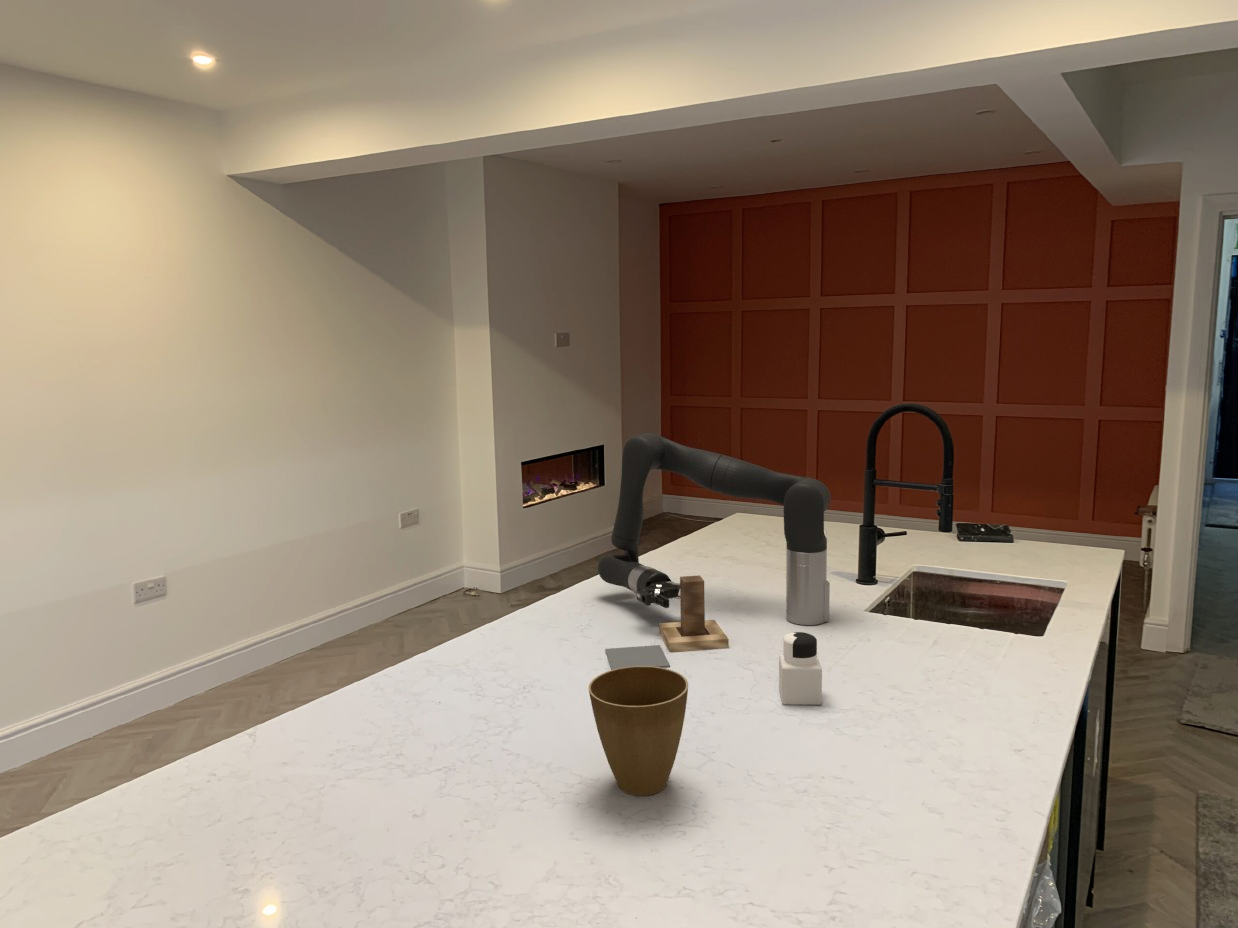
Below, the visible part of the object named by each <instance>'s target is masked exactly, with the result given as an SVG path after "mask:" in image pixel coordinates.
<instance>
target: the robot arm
mask: <svg viewBox="0 0 1238 928" xmlns="http://www.w3.org/2000/svg"><path fill="white" fill-rule="evenodd" d="M621 457H622V458H621V475H620V476H621V477H620V491H619V498H618V504H617V510H616V514H615V515H616V516H615V521H614V523H613V528H612V533H611V544H612V545H613V547H615V548H617V549H620V550H622V551H623V550H624V552H623V553H624V554H607V555H604V556H602V557H601V558H600V559H599V561H598V565H597V573H598V575H599V577H600V578H601V579H602V580H603V581H604V582H605V583H608V584H610V585H614V586H618V587H623V588H626V589H628V590H630V591H631V592H633V593H634V594H635V595H636V600H637V601H638V602H640V603H642V604H643V605H645V606H647V607H650V606H651V605H652V604H653V605H654V606H659V607H662V608H664V609H669V608H670V600H675V599H676V600H680V594H679V593H680V582H677V583H676V582H674V581H672V580H671V578H670V577H669V575H668V574H666V573H664V572H662V571H660V570H658V569H656V568H653V567H652V566H649V565H648V566H647V565H644V564H642V563H640V560H639V541H640V536H641V533H642V528H643V522H644V501H643V500H644V498H643V497H644V490H645V485H646V482H647V478H648V476H649V474H650V471H652V470H661V471H666V472H671V473H675V474H678V475H681V476H683V477H685V478H687V479H688V480H690V481H692V482H693V483H695V484H696V485H698V486H699V487H702V488H703V489H706V490H708V491H711V492H714V493H717V494H721V495H725V496H728V497H731V498H739V499H749V500H750V499H751V500H763V501H769V502H772V503H776V504H780V505H782V506H783V533H784V534H783V535H784V539H785V541H786V547H785V548H786V556H785V557H786V558H785V559H786V561H785V562H786V563H785V564H786V568H785V569H786V570H785V571H786V572H785V574H786V575H785V576H786V577H785V580H786V584H785V585H786V588H785V589H786V591H785V593H786V594H785V595H786V598H785V599H786V600H785V603H786V604H785V606H786V609H785V610H786V611H785V612H786V613H785V614H786V615H785V616H786V620H787V621H788V622H790V623H792V624H796V625H800V626H815V625H820V624H823V623H828V622H830V600H831V599H830V595H831V594H830V592H831V591H830V588H831V587H830V582H829V581H828V580H827V578H828V577H827V575H828V574H827V573H828V570H827V567H828V565H827V564H828V562H827V561H828V560H827V558H828V557H827V555H828V551H827V550H828V539H827V537H826V535H825V511H827V510H828V508H829V506H830V504H831V500H832V498H831V493H830V491H829V488H828V487H827V486H826V484H824V483H823V482H821V481H820V480H818V479H816V478H812V477H805V476H799V475H793V474H788V473H782V472H778V471H774V470H773V469H772V470H771V469H769V468H767V467H766V468H765V467H764V466H761V465H758V464H754V463H751V462H748V461H745V460H741V459H739V458H736V457H732V456H729V455H726V454H723V453H722V454H721V453H717V452H714V451H713V452H712V451H708V450H706V449H705V450H704V449H699V448H695V447H691V446H687V445H683V444H680V443H678V442H676V441H673V440H670V439H669V438H666V437H663V436H662V435H659V434H654V433H650V432H647V433H642V434H639V435H635V436H632V437H631V438H629V439H628V440H627V441H626V442H625V444H624V445H623V449H622V456H621Z"/></svg>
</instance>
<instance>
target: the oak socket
mask: <svg viewBox="0 0 1238 928" xmlns="http://www.w3.org/2000/svg"><path fill="white" fill-rule="evenodd" d="M658 632H659V634H660V636H661V638H662V640H663V641H664V645H665V646H666V648H667V649H668V652H669V653H675V652H685V651H687V652H690V651H699V650H700V651H701V650H703V651H704V650H712V649H713V650H717V649H728V648H729V647H730V646H729V645H730V644H729V641H730V639H729V637H728V636H727V635H726V634H725V633H726V632H724V630H723V629H722V628H721V627H720V625H719V624H718V623H717V621H716V619H705V635H701V636H686V637H681V621H677V622H675V621H674V622H662V623H661V622H659V623H658Z"/></svg>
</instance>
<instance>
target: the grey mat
mask: <svg viewBox="0 0 1238 928" xmlns="http://www.w3.org/2000/svg"><path fill="white" fill-rule="evenodd" d="M604 651H605V654H606V657H607V659H608V663H609V667H610V670H614V669H618V668H623V667H631V666H654V667H661V668H666V669H667V668H671V665H670V662H669V660H668V658H667V656H666V655H665V652H664V650H663V649H662V647H661V645H660V644H657V645H655V644H654V645H643V646H642V645H640V646H626V647H625V646H624V647H613V648H610V647H609V648H605V650H604Z"/></svg>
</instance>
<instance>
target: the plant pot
mask: <svg viewBox="0 0 1238 928" xmlns="http://www.w3.org/2000/svg"><path fill="white" fill-rule="evenodd" d="M688 691H689V681H688V679H687V678H686V677H685V676H684V674H683V675H682V674H681V673H679V672H678V671H675V670H674V669H669V668H667V667H666V668H661V667H654V666H631V667H623V668H618V669H614V670H611V669H610V670H608V671H605V672H603V673H601V674H599V675H597V676H596V677H594V678H593V679H592V680H591V681H590V683H589V684H588V693H589V694H588V695H589V698H590V704H591V708H592V713H593V717H594V721H595V726H596V728H597V729H596V730H597V732H598V736H599V740H600V742H601V746H602V749H603V753H604V754H605V757H606V760H607V762H608V765H609V768H610V770H611V773H612V775H613V777H614V779H615V781H616V784H617V786H618V788H619V789H620V790H621V791H622V792H623V793H626V794H628V795H631V796H635V797H636V796H639V797H641V796H642V797H646V796H651V795H655V794H658V793H660V792H662V791H663V790H664V789H665V788H666V787H667V784H668V781H669V779H670V776H671V773H672V770H673V767H674V764H675V760H676V757H677V754H678V750H679V746H680V741H681V738H682V732H683V727H684V721H685V716H686V708H687V702H688V693H689V692H688Z"/></svg>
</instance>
